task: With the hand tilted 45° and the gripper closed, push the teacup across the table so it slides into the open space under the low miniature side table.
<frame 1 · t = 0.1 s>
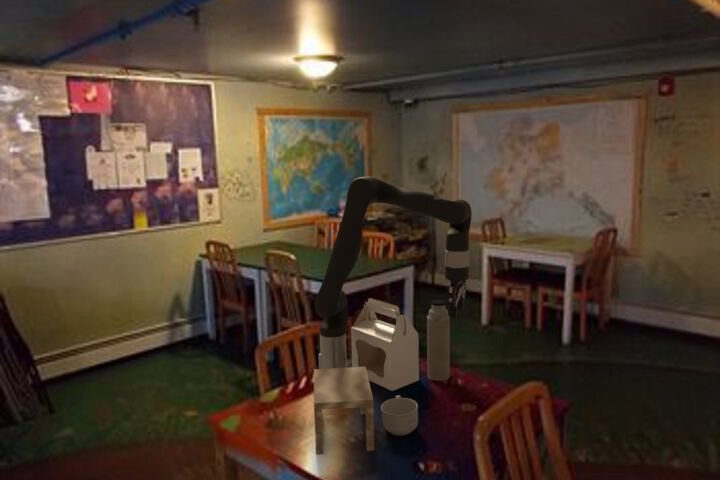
hand: (456, 314, 177), 29 cm above the table, tool pointing down, fingers open, 8 cm apart
gable box: (385, 377, 202), on the table
teacup: (400, 428, 165), on the table
miniature side table: (343, 431, 164), on the table
thermos bottle: (438, 377, 201), on the table
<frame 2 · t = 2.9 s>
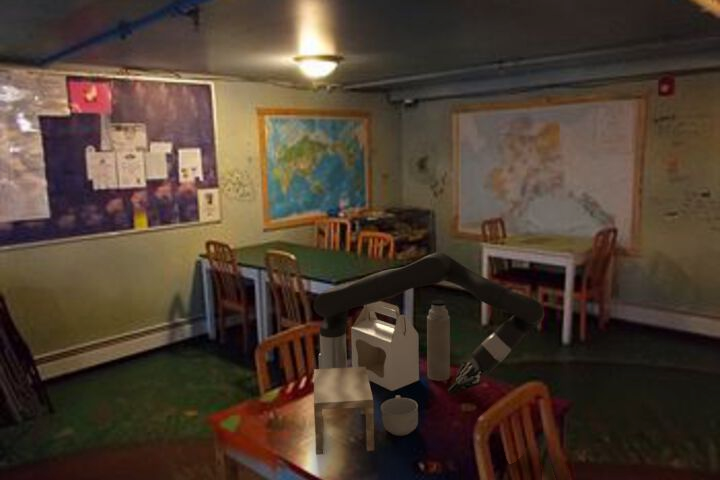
hand: (450, 393, 165), 10 cm above the table, tool tilted 45°, fingers closed
nothing on the table moved.
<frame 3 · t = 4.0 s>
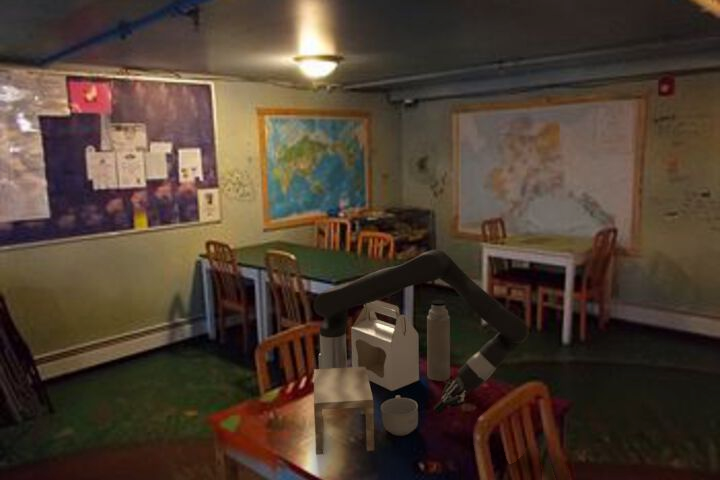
hand: (435, 411, 166), 4 cm above the table, tool tilted 45°, fingers closed
nothing on the table moved.
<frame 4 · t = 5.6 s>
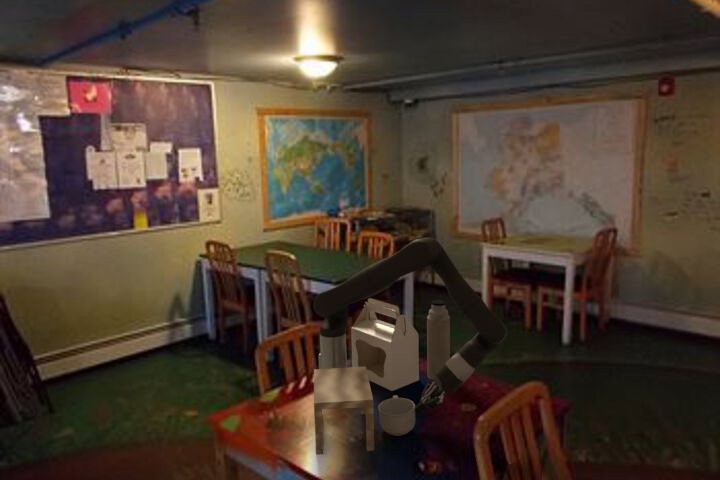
hand: (415, 413, 165), 4 cm above the table, tool tilted 45°, fingers closed
teacup: (397, 428, 165), on the table, touching gripper
everything else where it was.
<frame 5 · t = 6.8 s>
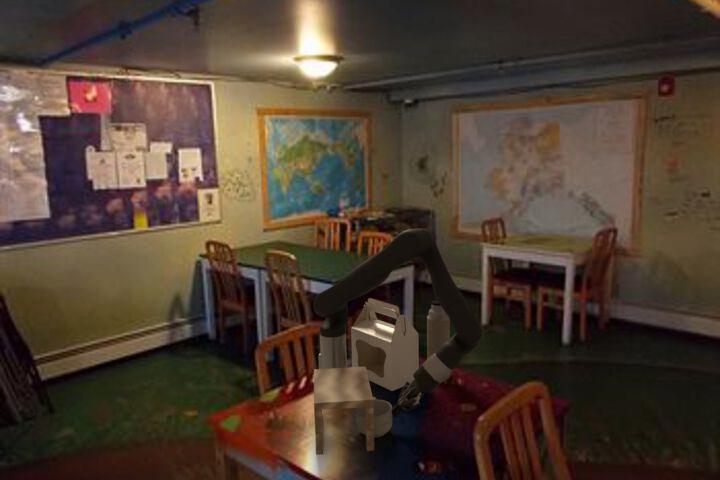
hand: (392, 414, 165), 4 cm above the table, tool tilted 45°, fingers closed
teacup: (374, 430, 165), on the table, touching gripper
everything else where it was.
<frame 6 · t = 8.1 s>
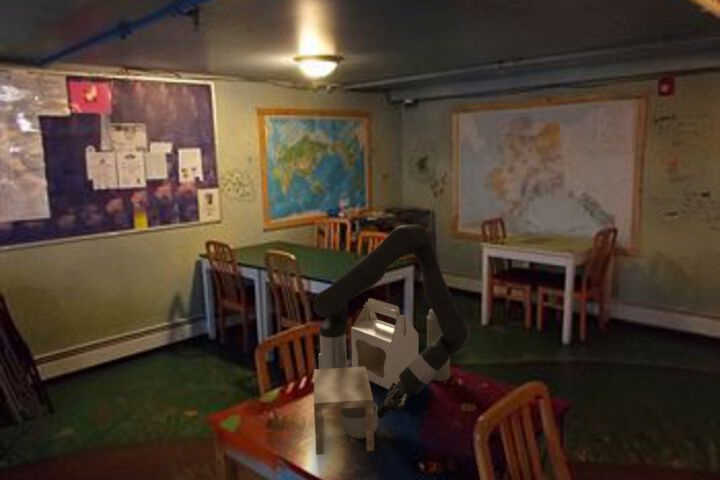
hand: (378, 415, 164), 4 cm above the table, tool tilted 45°, fingers closed
teacup: (360, 431, 164), on the table, touching gripper
everything else where it was.
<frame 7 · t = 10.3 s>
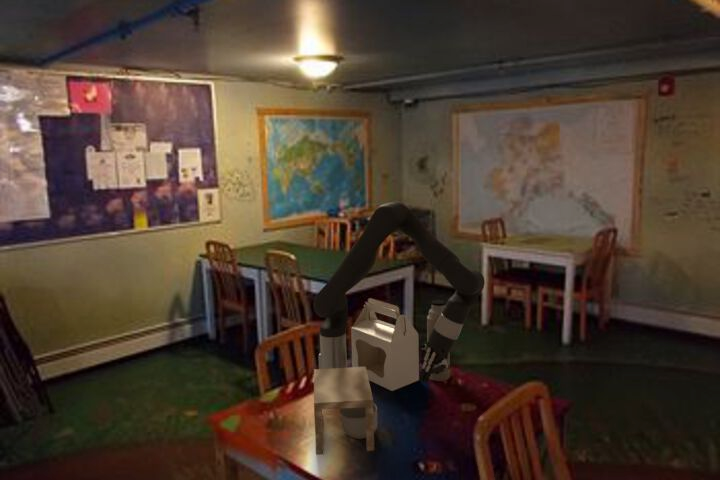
hand: (422, 380, 169), 12 cm above the table, tool tilted 25°, fingers closed
teacup: (360, 431, 164), on the table
everything else where it was.
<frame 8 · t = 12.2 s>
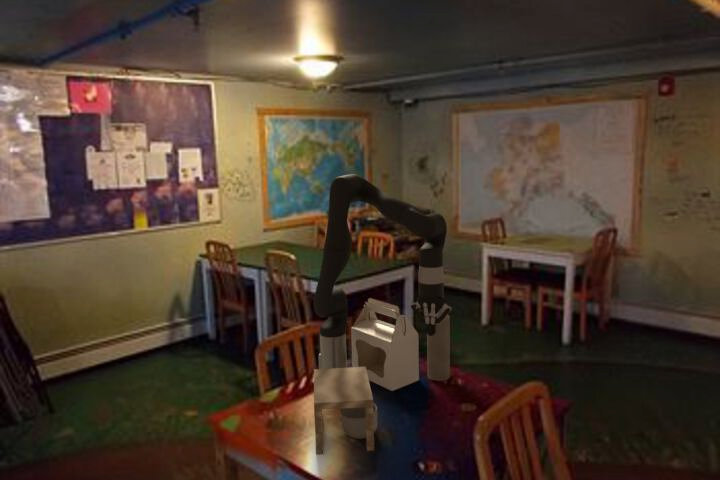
hand: (431, 334, 171), 25 cm above the table, tool pointing down, fingers closed
nothing on the table moved.
at the end: teacup 5.0 cm from the miniature side table (horizontally); teacup tilted 0°; teacup on the table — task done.
